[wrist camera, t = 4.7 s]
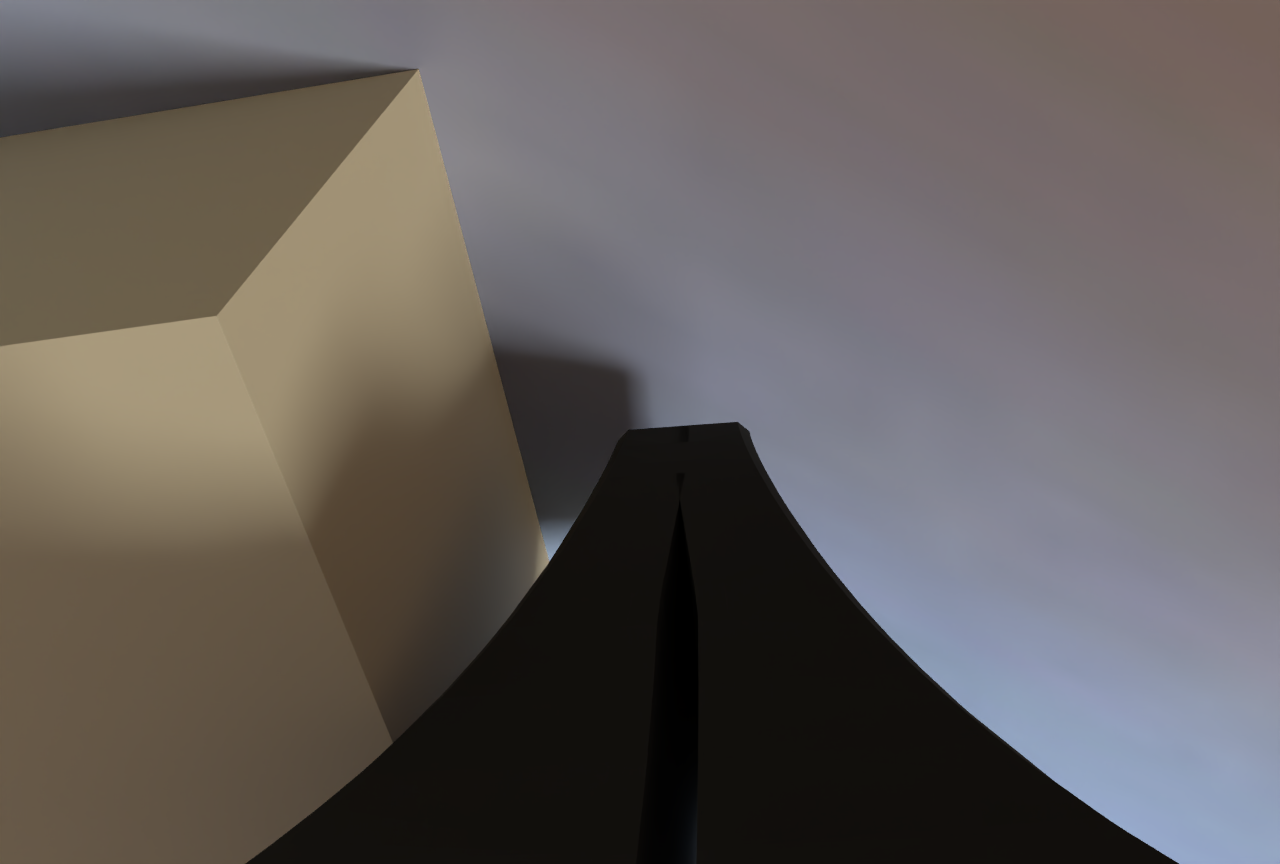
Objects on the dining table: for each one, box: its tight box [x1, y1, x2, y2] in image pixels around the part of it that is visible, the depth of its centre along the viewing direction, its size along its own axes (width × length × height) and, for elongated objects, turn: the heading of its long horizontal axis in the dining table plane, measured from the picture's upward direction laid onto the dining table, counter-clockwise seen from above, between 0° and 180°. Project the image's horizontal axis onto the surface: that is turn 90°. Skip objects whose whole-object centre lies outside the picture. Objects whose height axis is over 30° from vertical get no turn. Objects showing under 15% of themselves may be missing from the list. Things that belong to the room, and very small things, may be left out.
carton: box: [0, 69, 549, 864], centre depth 10 cm, size 8×8×5 cm
